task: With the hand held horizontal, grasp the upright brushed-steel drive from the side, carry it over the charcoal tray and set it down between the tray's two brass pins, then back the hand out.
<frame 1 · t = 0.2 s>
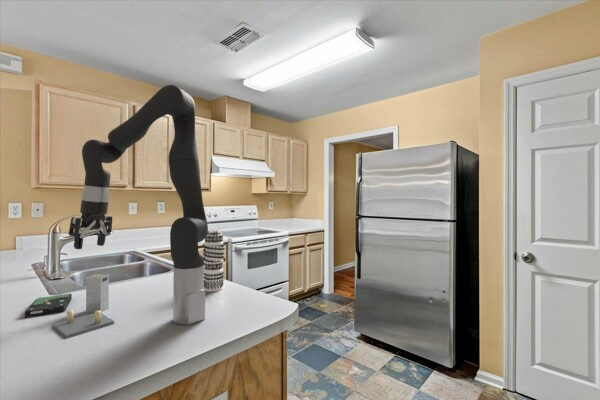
hand: (89, 247, 99), 22 cm above the counter, tool pointing down, fingers open, 8 cm apart
decorative candle: (213, 288, 126), on the counter
disk drive: (50, 309, 102), on the counter
drive: (97, 310, 100), on the counter
tray: (84, 325, 89), on the counter
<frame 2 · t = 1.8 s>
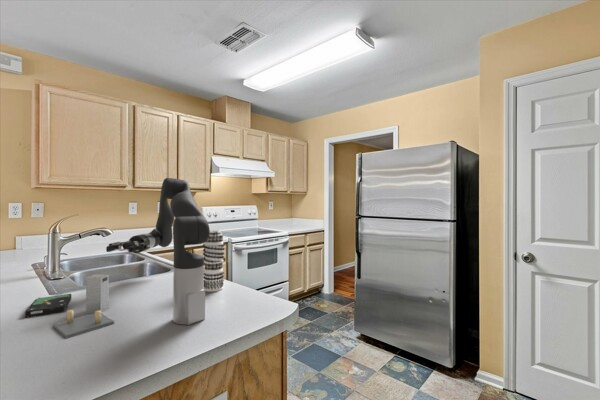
hand: (118, 249, 111), 19 cm above the counter, tool horizontal, fingers open, 8 cm apart
nothing on the counter moved.
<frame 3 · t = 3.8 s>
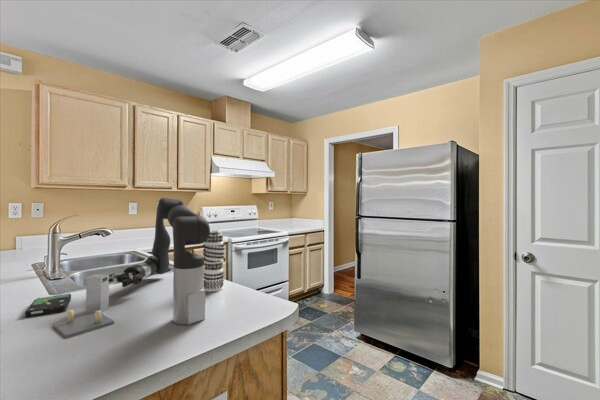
hand: (111, 284, 108), 7 cm above the counter, tool horizontal, fingers open, 8 cm apart
nothing on the counter moved.
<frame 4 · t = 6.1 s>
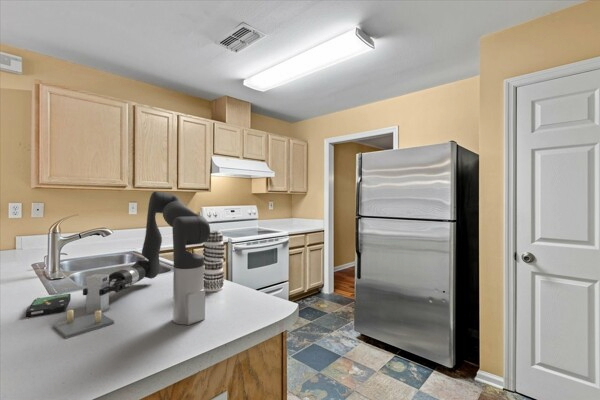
hand: (92, 292, 98), 7 cm above the counter, tool horizontal, fingers closed on drive, 5 cm apart
drive: (97, 310, 100), on the counter, touching gripper
everything else where it was.
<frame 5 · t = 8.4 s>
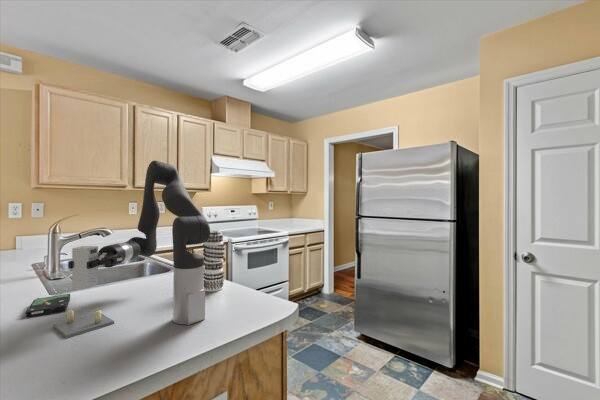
hand: (78, 265, 87), 19 cm above the counter, tool horizontal, fingers closed on drive, 5 cm apart
drive: (85, 286, 89), point 12 cm above the counter, touching gripper
everything else where it was.
when the fingers open (10 cm above the counter, at t = 11.1 s): drive drops 2 cm, resting on tray.
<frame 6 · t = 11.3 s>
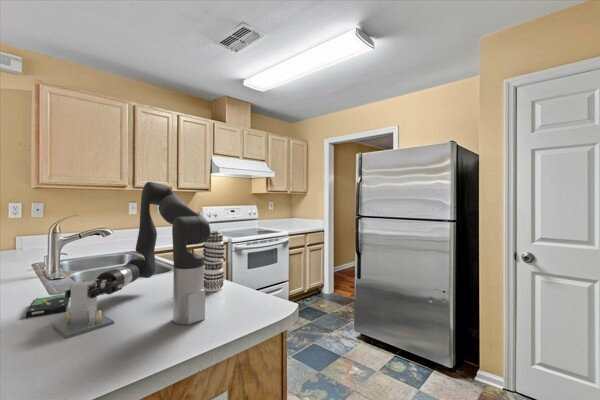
hand: (78, 294, 86), 10 cm above the counter, tool horizontal, fingers open, 6 cm apart
drive: (83, 322, 89), point 1 cm above the counter, touching tray
everything else where it was.
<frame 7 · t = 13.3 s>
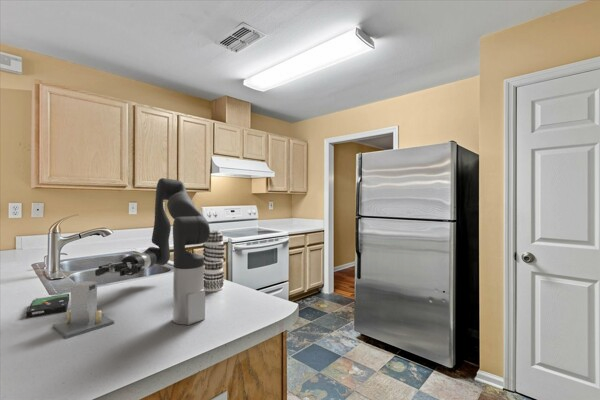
hand: (108, 273, 99), 13 cm above the counter, tool horizontal, fingers open, 8 cm apart
nothing on the counter moved.
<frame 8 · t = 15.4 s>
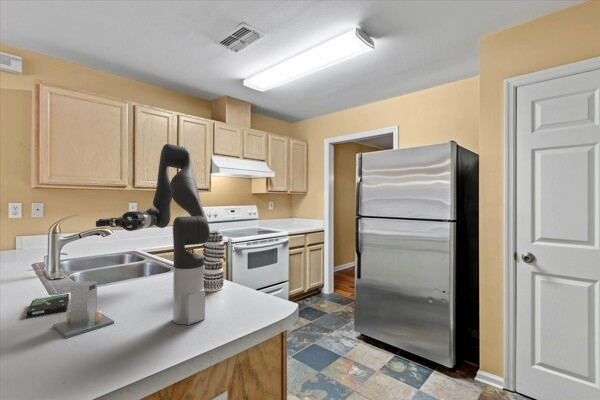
hand: (109, 224, 100), 30 cm above the counter, tool horizontal, fingers open, 8 cm apart
nothing on the counter moved.
at the end: drive 0.1 cm off-centre on the tray, point 0.8 cm above the tray's base; drive tilted 0°; the gripper is holding nothing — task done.
